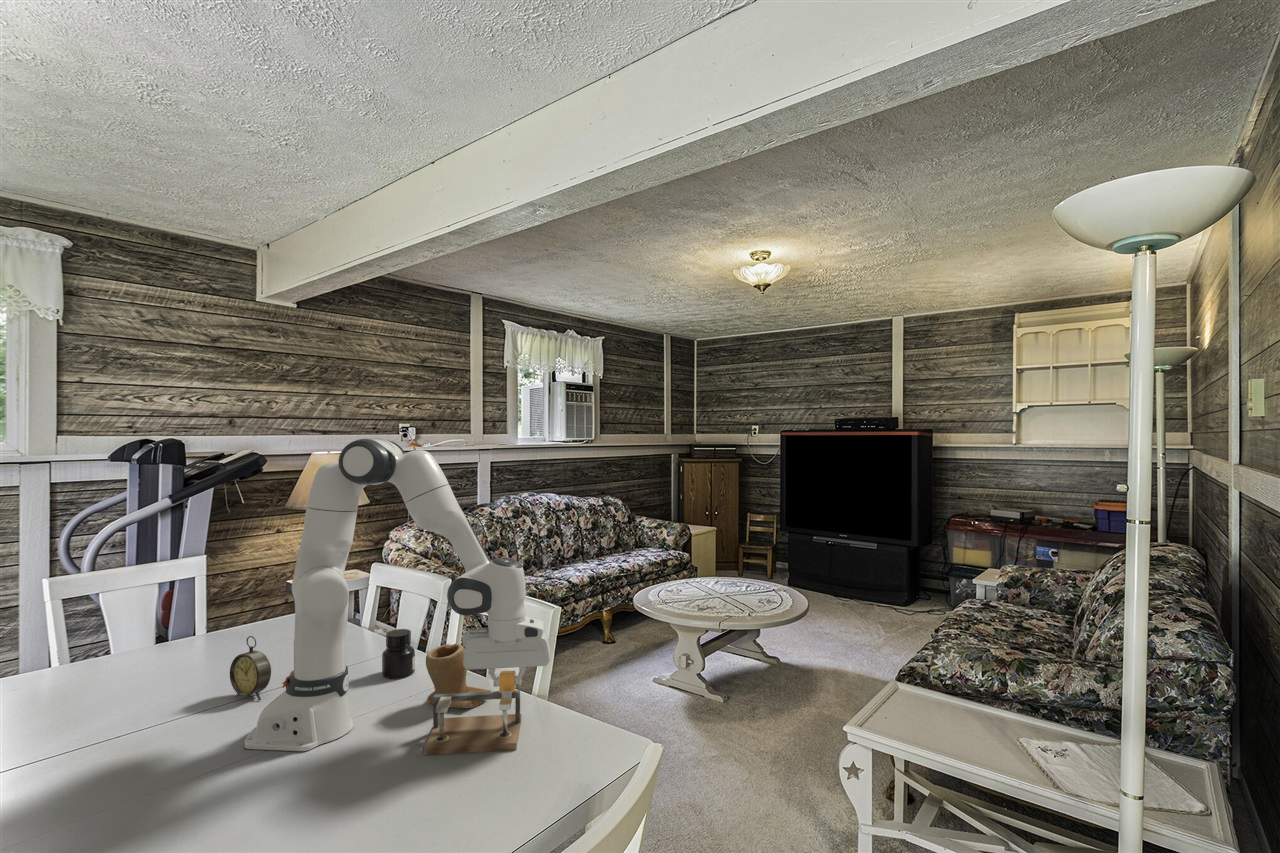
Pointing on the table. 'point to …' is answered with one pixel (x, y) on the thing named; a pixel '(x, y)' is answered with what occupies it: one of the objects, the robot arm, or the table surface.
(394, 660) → the ink bottle
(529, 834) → the table surface
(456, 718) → the hole plate
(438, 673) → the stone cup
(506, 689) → the sliding pointer
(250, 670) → the alarm clock
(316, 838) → the table surface
